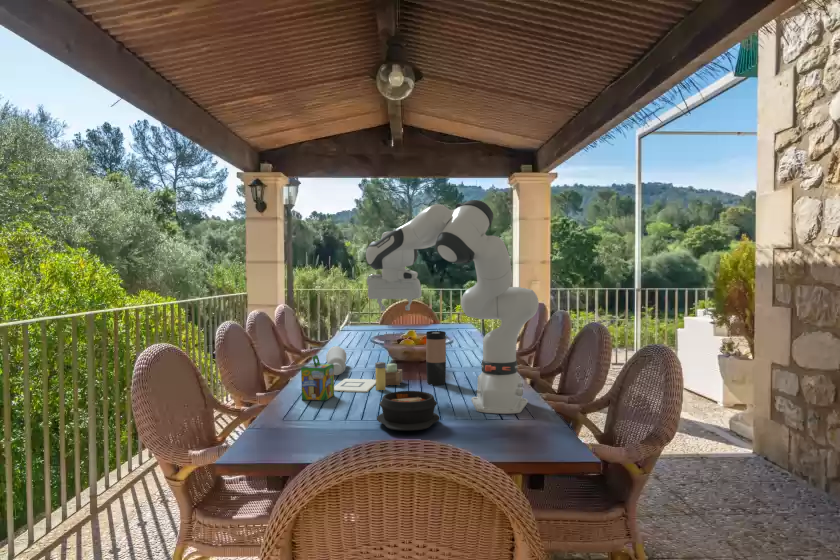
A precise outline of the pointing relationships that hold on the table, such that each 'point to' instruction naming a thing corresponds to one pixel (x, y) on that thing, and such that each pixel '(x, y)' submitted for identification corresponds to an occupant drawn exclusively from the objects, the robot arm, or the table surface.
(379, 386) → the spice shaker
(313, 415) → the table surface
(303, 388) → the chalk box
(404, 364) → the table surface
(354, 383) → the drawing pad
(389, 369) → the button
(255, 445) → the table surface
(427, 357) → the travel mug
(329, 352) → the bottle
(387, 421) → the casserole
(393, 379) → the button housing
